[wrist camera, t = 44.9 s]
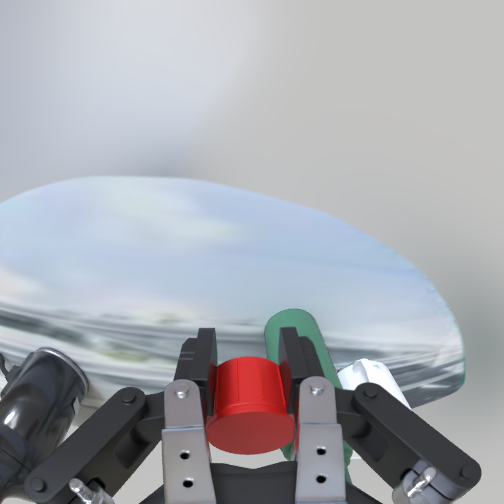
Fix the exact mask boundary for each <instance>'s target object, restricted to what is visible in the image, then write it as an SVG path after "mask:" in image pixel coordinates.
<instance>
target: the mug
mask: <svg viewBox="0 0 504 504" xmlns="http://www.w3.org/2000/svg"><path fill="white" fill-rule="evenodd" d="M337 375H338V377H339V380H340V382H341V385H342V387H343V389H347V390H355V388H356V387H357V386H358V385H359V384H362V383H365V382H373V383H376V384H379V385H380V386H382V387H383V388H384V389H386V390H387V391H388V392H389V393H390V394H392V395H393V396H394V397H395V398H397V399H398V400H399V401H400V402H402V403H403V404H404V405H405V406H406V407H408V408H409V409H410V410H411V408H410V406H409V404H408V403H407V401H406V399H405V397H404V396H403V394H402V392H401V390H400V389H399V387H398V385H397V383H396V382H395V380H394V378H393V377H392V375H391V373H390V372H389V370H388V368H387V367H386V366H385V365H384V364H382V363H380V362H377V361H371V360H368V359H365V358H364V359H361V360H356V361H355V362H354V364H352V365H349V366H347V367H346V368H344V369H342V370H341V371H340V372H338V373H337ZM411 411H412V410H411ZM351 459H362V458H361V457H360V456H359V455H358V454H357V453H356V452H355V451H354V450H353V454H352V456H351Z"/></svg>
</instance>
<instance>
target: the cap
mask: <svg viewBox="0 0 504 504" xmlns="http://www.w3.org/2000/svg"><path fill="white" fill-rule="evenodd" d="M294 420H295V419H294V414H287V411H286V402H285V396H284V390H283V384H282V379H281V374H280V368H279V365H278V364H276V363H275V362H273V361H270V360H268V359H265V358H260V357H240V358H235V359H231V360H228V361H226V362H224V363H222V364H220V365H219V366H218V367H217V369H216V387H215V399H214V412H213V416H207V424H206V429H207V436H208V441H209V442H210V443H211V444H212V445H213V446H214V447H216V448H218V449H220V450H223V451H226V452H229V453H234V454H245V455H252V454H261V453H267V452H270V451H274V450H276V449H279V448H281V447H283V446H285V445H287V444H288V443H289V442H291V441H292V440H293V426H294Z"/></svg>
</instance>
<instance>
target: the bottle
mask: <svg viewBox="0 0 504 504" xmlns="http://www.w3.org/2000/svg"><path fill="white" fill-rule="evenodd" d="M291 326H295V327H296V329H297V332H298V336H307V337H308V338H309V339H310V340H311V341H313V343H314V346H315V349H316V352H317V354H318V357H319V360H320V363H321V366H322V369H323V372H324V375H325V378H326V379H328V380H330V381H331V382H332V383H333V385H334V387H337V388H340V389H343V387H342V385H341V382H340V380H339V377H338V375H337V372H336V370H335V367H334V365H333V362H332V360H331V357H330V355H329V352H328V350H327V348H326V345H325V343H324V340H323V338H322V335H321V333H320V331H319V328H318V326H317V323H316V321H315V319H314V318H313V316H312V315H311V314H309V313H308V312H306V311H303V310H300V309H288V310H284V311H281V312H279V313H277V314H276V315H274V316H273V317H272V318H271V319H270V320H269V321H268V323H267V325H266V327H265V331H264V336H265V343H266V350H267V358H268V360H270V361H273V362H275V363H276V364H278V365H279V363H278V346H279V330H280V327H291ZM292 441H293V440H292ZM292 441H291V442H289V443H288V444H287V445H285V446H283V447H281V448H280V449H281V451H282V452H283V455H284V457H285V458H286V459H287V460H289V461H291V454H292ZM343 450H344V466H345V480H347V481H348V482H350V483H351V484H352V482H351V479H350V475H349V472H348V468H347V466H348V465H349V464H350V458H351V456H352V454H353V449H352V448H351V447H350V446H349V445H348V444H347V443H346V441H345V440H344V439H343Z"/></svg>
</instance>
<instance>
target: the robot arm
mask: <svg viewBox="0 0 504 504" xmlns="http://www.w3.org/2000/svg"><path fill="white" fill-rule="evenodd" d="M278 363H279V368H280V374H281V379H282V384H283V390H284V396H285V402H286V411H287V414H294V419H295V420H294V426H293V441H292V454H291V461H284V462H279V463H276V464H272V465H268V466H265V467H261V468H257V469H249V468H243V467H238V466H233V465H229V464H224V463H223V464H222V463H212V460H211V454H210V448H209V442H208V436H207V429H206V424H207V416H213V412H214V399H215V387H216V369H217V345H216V333H215V328H199V332H198V337H197V338H188V339H187V340H186V341H185V342H184V344H183V345H182V349H181V353H180V356H179V360H178V364H177V368H176V372H175V376H174V381H173V382H171V383H169V384H168V385H167V386H166V388H165V391H163V392H160V393H156V394H150V395H145V394H144V392H143V391H142V390H140V389H138V388H134V387H127V388H123V389H121V390H119V391H118V392H116V393H115V394H114V395H113V396H112V397H111V398H110V399H109V400H108V401H107V402H106V403H105V404H104V405H103V406H102V407H100V408H99V409H98V410H97V411H96V412H95V413H94V414H93V415H92V416H91V417H90V418H89V419H88V420H87V421H85V422H84V423H83V424H82V425H81V426H80V427H79V428H78V429H77V430H76V431H75V432H74V433H73V434H72V435H70V436H69V437H68V438H67V439H66V440H65V441H64V438H65V436H66V434H67V432H68V430H69V427H70V425H71V423H72V421H73V419H74V417H75V415H76V416H77V414H78V412H79V410H80V405H81V403H82V400H83V398H84V397H85V396H86V394H87V392H88V382H87V379H86V377H85V376H84V374H83V372H82V371H81V370H80V368H79V367H78V366H77V365H76V364H75V363H74V362H73V361H72V360H71V359H69V358H68V357H67V356H65V355H64V354H62V353H60V352H59V351H56V350H54V349H51V348H39V349H38V350H37V351H36V352H35V353H30V354H29V356H28V357H27V358H26V359H25V361H24V362H23V363H22V364H21V366H16V365H14V366H13V367H12V369H11V370H10V371H9V372H8V371H7V370H6V368H5V361H4V358H3V356H2V355H1V354H0V369H1V371H2V372H3V374H4V375H5V376H6V377H5V378H6V380H7V382H8V383H7V385H6V386H5V387H4V389H3V390H2V392H1V393H0V396H1V401H0V504H1V503H2V502H3V500H4V499H6V498H11V497H12V498H13V497H14V498H20V499H23V500H26V501H29V502H35V503H37V504H115V503H114V501H113V499H112V497H113V496H114V495H115V494H116V493H117V492H118V490H119V489H120V488H121V487H122V486H123V485H124V483H125V482H126V481H127V480H128V479H129V478H130V476H131V475H132V474H133V473H134V472H135V471H136V469H137V468H138V467H139V466H140V465H141V463H142V462H143V461H144V460H145V458H146V457H147V456H148V455H149V454H150V453H151V451H152V450H153V449H154V448H155V447H156V445H157V444H158V442H159V441H160V440H162V462H163V463H162V464H163V480H164V481H163V482H164V484H163V485H162V486H161V487H159V488H158V489H157V490H156V491H154V492H153V493H152V494H151V495H149V496H148V497H147V498H146V499H144V500H143V501H142V502H140V503H139V504H382V503H381V502H379V501H378V500H376V499H374V498H373V497H371V496H369V495H368V494H366V493H365V492H363V491H362V490H360V489H359V488H357V487H356V486H354V485H353V484H351V483H350V482H348V481H347V480H345V466H344V450H343V439H344V440H345V441H346V443H347V444H348V445H349V446H350V447H351V448H352V449H353V450H354V451H355V452H356V453H357V454H358V455H359V456H360V457H361V458H362V459H363V460H364V461H365V462H366V463H367V464H368V465H369V466H370V467H371V468H372V469H373V470H374V471H375V472H376V473H378V475H379V476H380V477H381V478H382V479H383V480H384V481H385V482H386V483H387V484H389V486H391V487H392V488H393V489H394V490H393V492H392V500H393V502H394V504H453V503H454V502H456V501H457V500H458V499H460V498H461V497H462V496H463V495H465V494H466V493H467V492H468V491H469V490H471V489H472V488H473V487H474V486H475V485H476V484H477V483H478V482H479V480H480V478H481V468H480V465H479V464H478V463H477V462H476V461H475V460H474V459H472V458H471V457H470V456H468V455H467V454H466V453H464V452H463V451H462V450H461V449H459V448H458V447H457V446H456V445H454V444H453V443H452V442H450V441H449V440H448V439H447V438H445V437H444V436H443V435H442V434H440V433H439V432H438V431H436V430H435V429H434V428H433V427H431V426H430V425H429V424H427V423H426V422H425V421H424V420H422V419H421V418H420V417H419V416H418V415H416V414H415V413H414V412H413V411H411V410H410V409H409V408H408V407H406V406H405V405H404V404H403V403H402V402H400V401H399V400H398V399H397V398H395V397H394V396H393V395H392V394H390V393H389V392H388V391H387V390H386V389H384V388H383V387H382V386H380V385H379V384H376V383H373V382H365V383H362V384H359V385H358V386H357V387H356V388H355V390H347V389H340V388H337V387H334V385H333V383H332V382H331V381H330V380H328V379H326V378H325V375H324V372H323V369H322V366H321V363H320V360H319V357H318V354H317V352H316V349H315V346H314V343H313V341H311V340H310V339H309V338H308V337H307V336H298V332H297V329H296V327H295V326H291V327H280V330H279V346H278ZM63 441H64V442H63Z"/></svg>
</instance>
